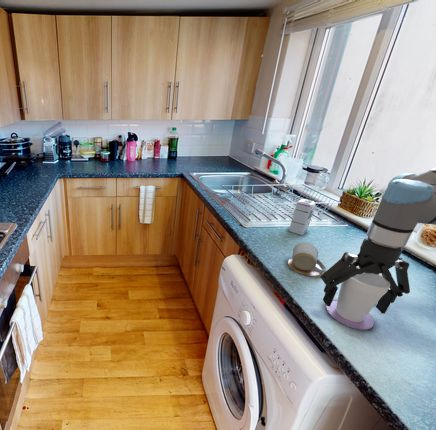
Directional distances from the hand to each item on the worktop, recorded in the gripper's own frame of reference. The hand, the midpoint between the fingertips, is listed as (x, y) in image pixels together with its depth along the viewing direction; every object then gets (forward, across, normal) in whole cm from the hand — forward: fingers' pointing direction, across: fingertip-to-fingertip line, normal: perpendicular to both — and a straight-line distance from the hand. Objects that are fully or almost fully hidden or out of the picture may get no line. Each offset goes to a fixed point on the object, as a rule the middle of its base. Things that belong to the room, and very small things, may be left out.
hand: (352, 306), depth 80 cm
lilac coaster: (+3, 0, 0) cm, 3 cm away
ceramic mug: (+3, +3, -23) cm, 23 cm away
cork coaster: (+3, +3, -23) cm, 23 cm away
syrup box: (+3, -5, -53) cm, 53 cm away
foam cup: (+3, 0, 0) cm, 3 cm away
